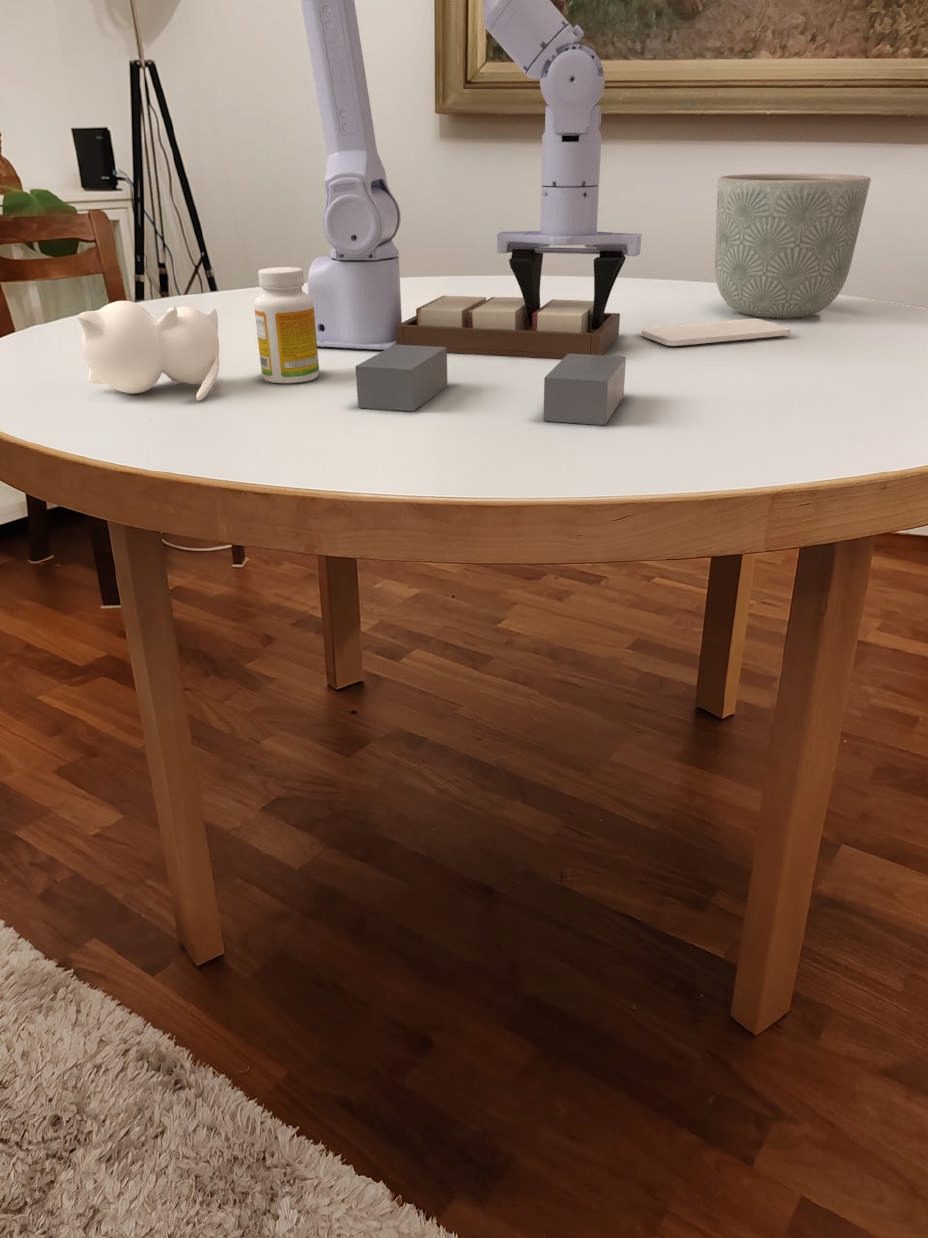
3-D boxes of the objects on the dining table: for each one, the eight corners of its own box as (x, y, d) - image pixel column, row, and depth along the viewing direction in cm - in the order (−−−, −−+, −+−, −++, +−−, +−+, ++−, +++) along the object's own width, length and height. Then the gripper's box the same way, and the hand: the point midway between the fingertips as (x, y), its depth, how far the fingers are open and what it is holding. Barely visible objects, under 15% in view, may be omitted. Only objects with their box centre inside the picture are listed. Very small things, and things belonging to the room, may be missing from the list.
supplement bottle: (329, 372, 91) (321, 266, 87) (303, 386, 87) (293, 274, 82) (279, 369, 93) (269, 264, 89) (251, 382, 89) (238, 272, 84)
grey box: (543, 421, 76) (544, 376, 74) (566, 393, 83) (568, 353, 82) (605, 425, 74) (607, 380, 73) (623, 397, 82) (626, 356, 80)
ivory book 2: (468, 344, 100) (467, 310, 98) (492, 329, 107) (491, 296, 106) (515, 346, 98) (515, 311, 97) (536, 330, 106) (535, 297, 104)
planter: (735, 297, 128) (749, 172, 121) (865, 308, 119) (888, 174, 112) (682, 316, 116) (694, 178, 108) (822, 330, 107) (845, 181, 100)
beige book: (416, 342, 101) (415, 308, 100) (443, 327, 109) (443, 295, 107) (462, 344, 100) (461, 310, 98) (486, 328, 108) (486, 296, 106)
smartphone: (638, 328, 105) (756, 317, 109) (637, 335, 106) (755, 324, 109) (670, 340, 99) (794, 329, 103) (669, 348, 99) (793, 336, 103)
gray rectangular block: (357, 407, 80) (355, 365, 78) (396, 382, 88) (394, 344, 86) (413, 411, 79) (411, 369, 77) (447, 386, 86) (446, 346, 85)
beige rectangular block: (531, 348, 98) (532, 313, 96) (551, 331, 106) (552, 299, 104) (580, 350, 97) (581, 315, 95) (596, 333, 104) (598, 300, 103)
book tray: (396, 349, 101) (395, 325, 99) (435, 327, 111) (434, 305, 110) (598, 360, 95) (599, 334, 94) (618, 336, 105) (620, 313, 104)
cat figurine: (213, 274, 85) (70, 278, 81) (234, 359, 80) (83, 367, 76) (214, 348, 92) (83, 355, 88) (234, 430, 87) (95, 441, 83)
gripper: (488, 187, 93) (488, 330, 99) (637, 188, 89) (627, 336, 95) (507, 183, 99) (506, 318, 105) (647, 184, 95) (638, 324, 101)
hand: (565, 326), depth 100 cm, fingers open, 6 cm apart
